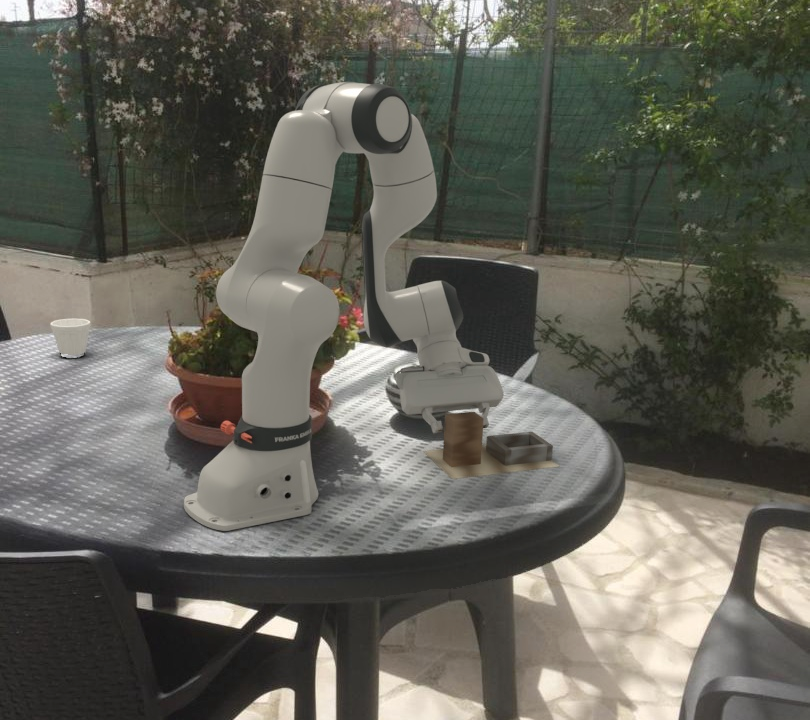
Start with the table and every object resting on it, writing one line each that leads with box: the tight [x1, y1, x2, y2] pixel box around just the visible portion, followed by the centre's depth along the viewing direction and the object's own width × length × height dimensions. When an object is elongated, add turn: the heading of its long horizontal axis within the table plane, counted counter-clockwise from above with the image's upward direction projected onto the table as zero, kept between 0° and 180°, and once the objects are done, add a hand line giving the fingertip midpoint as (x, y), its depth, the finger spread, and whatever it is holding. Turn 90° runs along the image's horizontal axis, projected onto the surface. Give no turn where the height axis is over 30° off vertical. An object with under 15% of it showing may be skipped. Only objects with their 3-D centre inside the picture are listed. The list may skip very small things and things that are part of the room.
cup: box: [50, 318, 91, 355], centre depth 222 cm, size 10×10×9 cm
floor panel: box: [422, 431, 560, 480], centre depth 158 cm, size 22×14×4 cm, turn 110°
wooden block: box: [442, 411, 484, 467], centre depth 155 cm, size 6×4×9 cm, turn 110°
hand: (461, 429), depth 156 cm, fingers open, 8 cm apart
